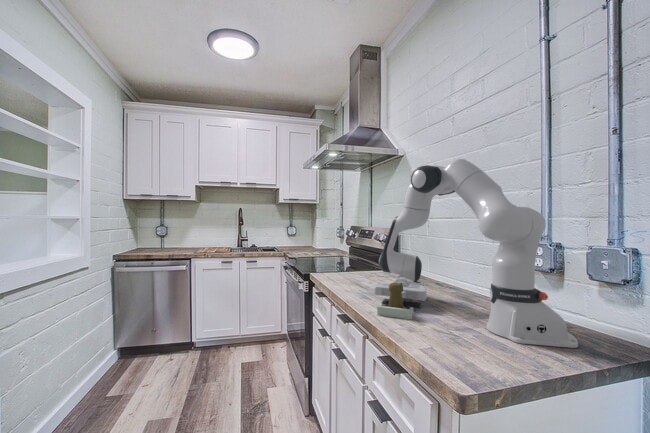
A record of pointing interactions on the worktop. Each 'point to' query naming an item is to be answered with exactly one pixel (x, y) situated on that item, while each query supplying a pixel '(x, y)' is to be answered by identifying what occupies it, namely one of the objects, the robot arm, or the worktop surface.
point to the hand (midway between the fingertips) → (397, 296)
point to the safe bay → (395, 312)
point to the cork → (395, 295)
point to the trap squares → (405, 303)
